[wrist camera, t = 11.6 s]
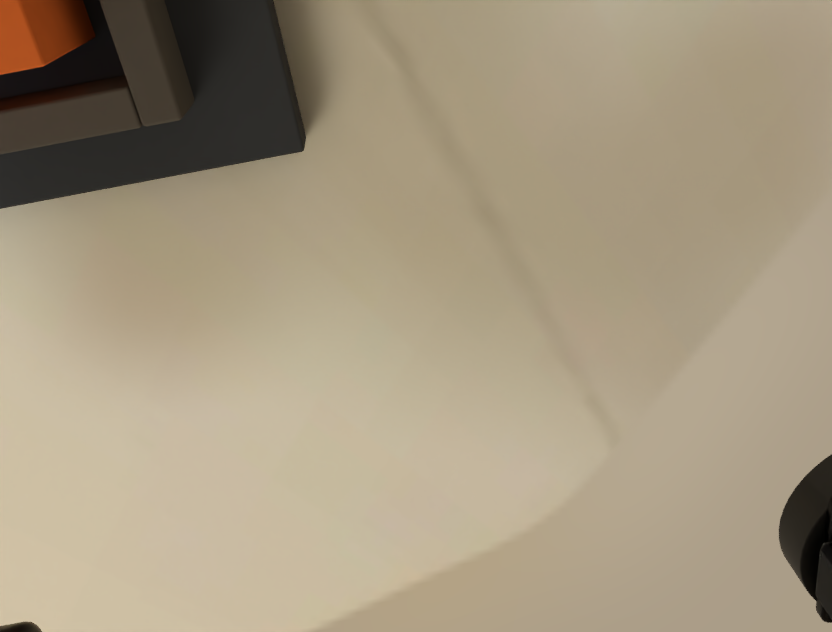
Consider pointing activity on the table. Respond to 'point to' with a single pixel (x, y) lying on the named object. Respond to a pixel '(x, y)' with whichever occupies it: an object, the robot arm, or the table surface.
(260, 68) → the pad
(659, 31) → the table surface
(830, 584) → the robot arm
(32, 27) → the orange block
